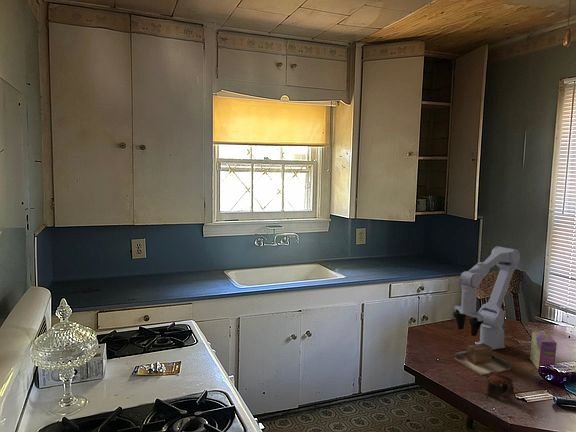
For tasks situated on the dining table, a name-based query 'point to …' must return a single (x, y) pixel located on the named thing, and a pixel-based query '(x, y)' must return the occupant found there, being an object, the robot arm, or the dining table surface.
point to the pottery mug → (494, 385)
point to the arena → (484, 364)
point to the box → (542, 349)
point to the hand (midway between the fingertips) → (467, 332)
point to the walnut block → (479, 353)
